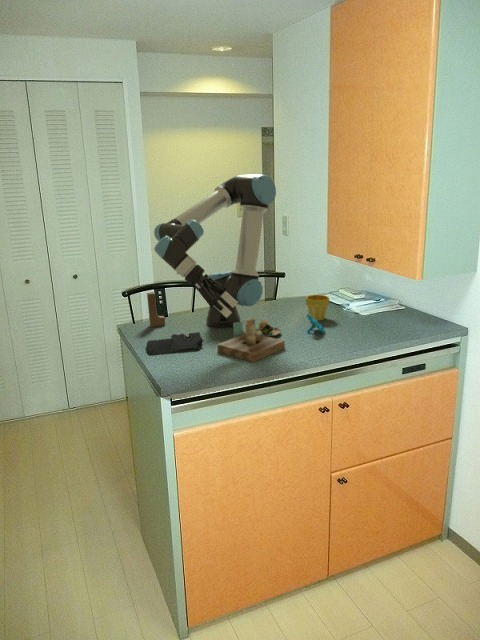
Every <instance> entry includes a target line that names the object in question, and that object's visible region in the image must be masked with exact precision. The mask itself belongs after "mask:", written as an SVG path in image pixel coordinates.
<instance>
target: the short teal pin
mask: <svg viewBox="0 0 480 640" xmlns="http://www.w3.org/2000/svg"><path fill="white" fill-rule="evenodd" d="M232 327H233V338H235V337H238V336H241V335H243V334H244V333H243V332H244V331H243V330H244V329H243V328H244V327H243V322H241V321H240V322H235V323H233V326H232Z"/></svg>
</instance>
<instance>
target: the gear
mask: <svg viewBox="0 0 480 640" xmlns="http://www.w3.org/2000/svg"><path fill="white" fill-rule="evenodd" d="M306 317H307V319H308V320H309V322H310V323H311V326H310V327H309V328H308V329H307V330H306V332H307V333H308V334H309V333H311V331H312V330H314V329H315V328H316V329H317V330H318V331H320V332H321V333H322V334H325V333H326V329H325V328H324V327H323V325H322V324H321V323H319V320H314V318H313V317H311V315H309V314H307V315H306Z"/></svg>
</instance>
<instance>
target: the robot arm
mask: <svg viewBox="0 0 480 640" xmlns="http://www.w3.org/2000/svg"><path fill="white" fill-rule="evenodd" d="M276 194H277V188H276V185H275V182H274V181H273V179H272V178H271V177H270V176H269V175H266V174H262V173H261V174H260V173H256V174H255V173H254V174H238V175H235V176H233V177H231V178H229V179H228V180H225V181H224V182H223V183H221V184H220V185H217V186H216V187H215V188H214V191H213V192H212V193H210V194H209V195H207V196H206V197H204V198H203V199H201V200H200V201H198V202H197V203H195V204H194V205H192V206H191V207H188V209H186V210H184V211H183V212H182V213H180V214H179V215H176V217H174V218H172V219H171V220H169V221H167V222H166V223H165V222H162V223H159V224H157V225H156V226H155V228H154V231H153V234H154V238H155V240H156V241H158V242H157V243H156V244H155V246H154V249H153V250H154V252H155V253H156V254H157V256H159V258H160V259H162V260H163V261H164V262H165V264H167V265H168V266H170V267H171V268H172V269H173V270H174V271H175V272H176V274H177V275H179V276H181V278H184V281H186V283H188V284H189V285H190V286H193V287H194V288H195V289H196V290H197V292H199V294H200V295H201V297H202V298H203V299H204V301H205V302H206V303H207V304H208V306H209V308H208V312H207V316H206V318H205V319H206V320H205V321H206V325H208V326H210V327H213V328H214V327H215V328H230V327H233V323H235V322H241V316H240V314H239V312H238V308H237V305H240V306H242V307H252V306H255V305H256V304H257V302H259V301H260V299H261V298H262V295H263V293H264V292H263V291H264V287H263V285H262V282H261V281H260V280H259V279H260V278H259V277H260V275H259V273H258V272H257V267H258V266H257V265H258V257H259V250H260V243H261V235H262V228H263V220H264V215H265V213H266V212H267V211H269V205H270V204H272V203H273V202H274V200H275V199H276ZM236 204H240V205H239V206H240V208H241V210H242V217H241V226H240V232H239V233H240V234H239V240H238V247H237V256H236V263H235V268H234V269H233V270H224V271H222V270H221V271H215V272H213V273H209V275H208V274H207V273H205V269H204V268H203V267H202V266H201V265H200V264H197V262H196V260H195V259H193V258H192V257H191V256H190V255H189V254H188V253H187V252H188V251H189V250H190V249H191V248H192V247H193V246H194V245H195V244H196V243H197V242H198V241H199V240H200V239H201V238H202V236H203V235H204V233H205V232H204V227H203V226H202V225H201V224H202V223H203V222H204V221H206V220H208V219H209V218H211V217H212V216H213V215H215V214H216V213H218V212H220V211H221V210H223V209H224V208H225V209H226V208H227V209H228V208H230V207H231V206H233V205H236ZM204 273H205V274H204Z"/></svg>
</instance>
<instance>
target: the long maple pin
mask: <svg viewBox="0 0 480 640" xmlns="http://www.w3.org/2000/svg"><path fill="white" fill-rule="evenodd" d="M255 329H256V319H255V318H245V334H246V345H250V346H253V345H255V344H256V336H255Z"/></svg>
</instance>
